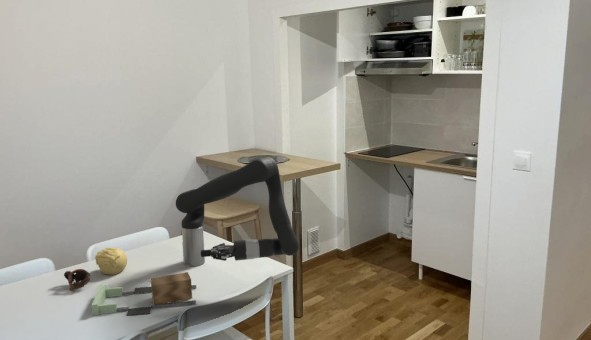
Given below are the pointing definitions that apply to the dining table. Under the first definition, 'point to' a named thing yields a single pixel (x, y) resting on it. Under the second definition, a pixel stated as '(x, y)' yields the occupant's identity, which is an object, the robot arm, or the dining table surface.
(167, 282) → the walnut block
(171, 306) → the lane rails
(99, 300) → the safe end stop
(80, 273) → the pottery mug
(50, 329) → the dining table surface
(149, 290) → the mats
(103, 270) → the sculpture
